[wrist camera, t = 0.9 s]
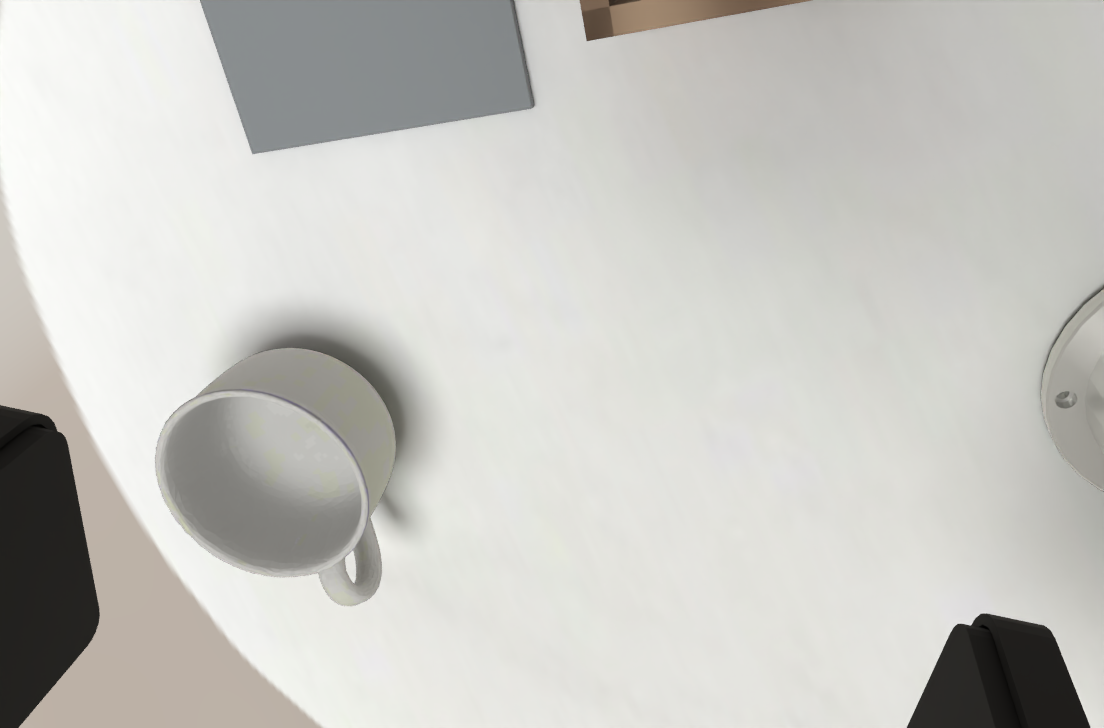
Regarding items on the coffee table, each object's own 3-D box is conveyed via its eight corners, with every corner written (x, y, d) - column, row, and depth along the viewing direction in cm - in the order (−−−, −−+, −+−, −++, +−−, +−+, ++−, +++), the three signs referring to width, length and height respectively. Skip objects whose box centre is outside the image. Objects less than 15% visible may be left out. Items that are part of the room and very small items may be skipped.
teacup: (203, 341, 50) (113, 416, 43) (375, 303, 46) (307, 378, 40) (305, 541, 55) (239, 636, 49) (465, 520, 52) (419, 619, 45)
